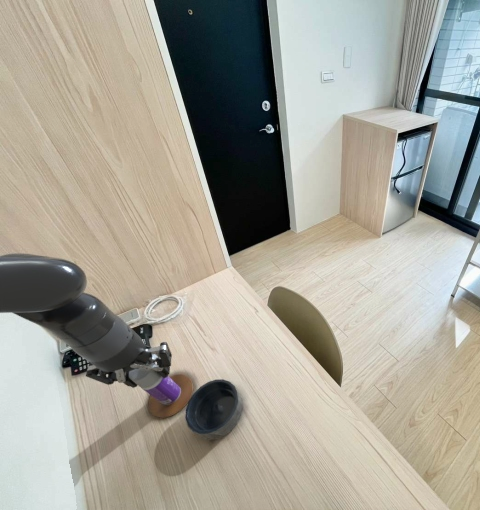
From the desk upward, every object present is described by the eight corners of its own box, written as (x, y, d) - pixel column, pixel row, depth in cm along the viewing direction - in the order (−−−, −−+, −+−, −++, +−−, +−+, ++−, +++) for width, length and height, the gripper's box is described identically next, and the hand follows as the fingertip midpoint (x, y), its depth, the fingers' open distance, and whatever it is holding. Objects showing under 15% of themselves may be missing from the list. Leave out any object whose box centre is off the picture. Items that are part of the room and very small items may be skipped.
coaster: (146, 424, 63) (145, 424, 62) (152, 382, 69) (151, 382, 69) (192, 408, 65) (192, 408, 65) (193, 369, 72) (193, 368, 72)
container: (185, 391, 68) (158, 365, 57) (168, 409, 65) (136, 385, 54) (173, 381, 69) (144, 354, 59) (156, 398, 66) (123, 373, 56)
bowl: (193, 448, 59) (184, 442, 56) (194, 397, 67) (186, 388, 63) (245, 428, 62) (240, 421, 58) (241, 381, 70) (235, 372, 66)
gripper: (50, 374, 44) (110, 407, 55) (149, 346, 47) (186, 383, 59) (65, 335, 49) (118, 373, 60) (154, 312, 52) (187, 352, 64)
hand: (151, 378), depth 60 cm, fingers open, 5 cm apart
